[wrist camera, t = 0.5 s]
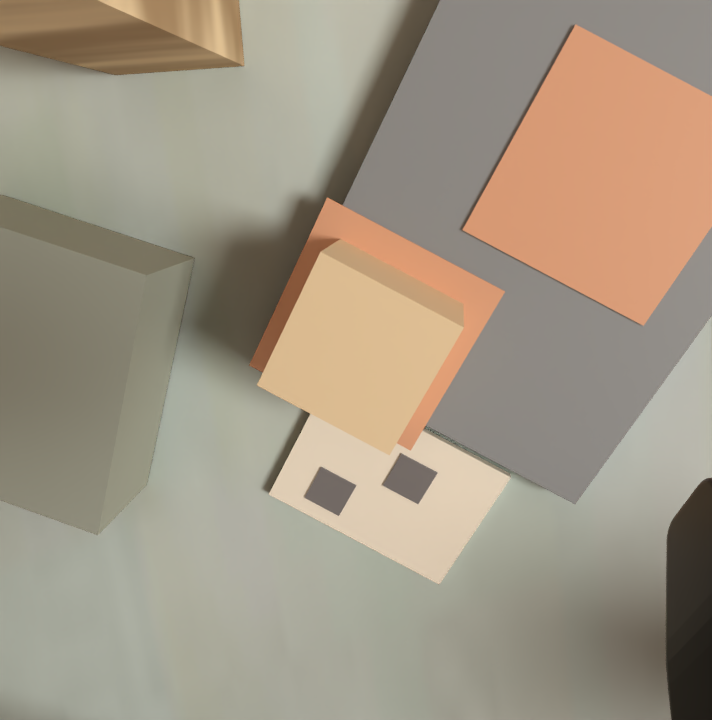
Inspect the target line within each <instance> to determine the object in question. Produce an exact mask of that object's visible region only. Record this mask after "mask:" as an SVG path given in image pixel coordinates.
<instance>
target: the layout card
mask: <svg viewBox="0 0 712 720" xmlns="http://www.w3.org/2000/svg"><path fill="white" fill-rule="evenodd" d="M510 478H511V475H510V473H508V472H507V471H505V470H503V469H501V468H499V467H497V466H495V465H493V464H491V463H490V462H488V461H486V460H484V459H482V458H480V457H478V456H476V455H474V454H473V453H471V452H469V451H467V450H465V449H463V448H461V447H459V446H457V445H456V444H454V443H452V442H450V441H448V440H446V439H444V438H442V437H440V436H439V435H437V434H435V433H433V432H431V431H429V430H427V429H425V428H424V429H423V431H422V432H421V434H420V436H419V437H418V439H417V441H416V443H415V444H414V446H413V448H412V449H411V451H410V450H408V449H406V448H405V447H403V446H401V445H399V444H397V443H396V445H395V447H394V449H393V450H392V452H391V454H390V455H388V454H386V453H384V452H382V451H380V450H378V449H376V448H374V447H373V446H371V445H369V444H367V443H365V442H363V441H361V440H359V439H357V438H356V437H354V436H352V435H350V434H348V433H346V432H344V431H342V430H340V429H339V428H337V427H335V426H333V425H331V424H329V423H327V422H325V421H323V420H321V419H320V418H318V417H316V416H314V415H312V414H310V416H309V417H308V419H307V421H306V423H305V425H304V427H303V429H302V431H301V433H300V435H299V437H298V439H297V441H296V443H295V445H294V446H293V448H292V450H291V452H290V454H289V456H288V458H287V460H286V462H285V464H284V466H283V468H282V470H281V472H280V473H279V475H278V477H277V479H276V481H275V483H274V485H273V487H272V489H271V491H270V493H269V495H271V496H273V497H275V498H277V499H279V500H280V501H282V502H284V503H286V504H288V505H290V506H292V507H294V508H296V509H297V510H299V511H301V512H303V513H305V514H307V515H309V516H311V517H313V518H314V519H316V520H318V521H320V522H322V523H324V524H326V525H328V526H330V527H331V528H333V529H335V530H337V531H339V532H341V533H343V534H345V535H347V536H349V537H350V538H352V539H354V540H356V541H358V542H360V543H362V544H364V545H366V546H367V547H369V548H371V549H373V550H375V551H377V552H379V553H381V554H383V555H384V556H386V557H388V558H390V559H392V560H394V561H396V562H398V563H400V564H401V565H403V566H405V567H407V568H409V569H411V570H413V571H415V572H417V573H418V574H420V575H422V576H424V577H426V578H428V579H430V580H432V581H434V582H436V583H437V584H440V583H441V581H442V580H443V578H444V577H445V575H446V574H447V572H448V571H449V569H450V568H451V566H452V565H453V563H454V562H455V560H456V559H457V557H458V556H459V554H460V553H461V551H462V550H463V548H464V547H465V545H466V544H467V542H468V541H469V539H470V538H471V536H472V535H473V533H474V532H475V530H476V529H477V527H478V526H479V524H480V523H481V522H482V520H483V519H484V517H485V516H486V514H487V513H488V511H489V510H490V508H491V507H492V505H493V504H494V502H495V501H496V499H497V498H498V496H499V495H500V493H501V492H502V490H503V489H504V487H505V486H506V484H507V483H508V481H509V480H510Z"/></svg>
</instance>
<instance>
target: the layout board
mask: <svg viewBox="0 0 712 720" xmlns="http://www.w3.org/2000/svg"><path fill="white" fill-rule="evenodd" d="M711 316H712V0H440V2H439V4H438V6H437V8H436V10H435V12H434V14H433V16H432V18H431V21H430V23H429V25H428V27H427V29H426V31H425V33H424V35H423V37H422V39H421V42H420V44H419V46H418V48H417V50H416V52H415V54H414V56H413V58H412V60H411V63H410V65H409V67H408V69H407V71H406V73H405V75H404V77H403V79H402V81H401V84H400V86H399V88H398V90H397V92H396V94H395V96H394V98H393V100H392V102H391V105H390V107H389V109H388V111H387V113H386V115H385V117H384V119H383V121H382V123H381V126H380V128H379V130H378V132H377V134H376V136H375V138H374V140H373V142H372V144H371V147H370V149H369V151H368V153H367V155H366V157H365V159H364V161H363V163H362V165H361V168H360V170H359V172H358V174H357V176H356V178H355V180H354V182H353V184H352V186H351V189H350V191H349V193H348V195H347V197H346V199H345V201H344V203H343V205H341V204H339V203H337V202H335V201H334V200H332V199H330V198H327V199H326V201H325V203H324V205H323V208H322V210H321V212H320V214H319V216H318V218H317V221H316V223H315V225H314V227H313V229H312V231H311V233H310V236H309V238H308V240H307V242H306V244H305V246H304V248H303V251H302V253H301V255H300V257H299V259H298V261H297V263H296V266H295V268H294V270H293V272H292V274H291V276H290V278H289V281H288V283H287V285H286V287H285V289H284V291H283V294H282V296H281V298H280V300H279V302H278V304H277V306H276V309H275V311H274V313H273V315H272V317H271V319H270V321H269V324H268V326H267V328H266V330H265V332H264V334H263V336H262V339H261V341H260V343H259V345H258V347H257V349H256V352H255V354H254V356H253V358H252V360H251V362H250V364H249V366H251V367H253V368H255V369H257V370H259V371H261V372H263V373H262V376H261V378H260V380H259V382H258V384H257V386H259V387H261V388H263V389H265V390H267V391H269V392H270V393H272V394H274V395H276V396H278V397H280V398H282V399H284V400H286V401H287V402H289V403H291V404H293V405H295V406H297V407H299V408H301V409H303V410H304V411H306V412H308V413H310V414H312V415H314V416H316V417H318V418H320V419H321V420H323V421H325V422H327V423H329V424H331V425H333V426H335V427H337V428H339V429H340V430H342V431H344V432H346V433H348V434H350V435H352V436H354V437H356V438H357V439H359V440H361V441H363V442H365V443H367V444H369V445H371V446H373V447H374V448H376V449H378V450H380V451H382V452H384V453H386V454H388V455H390V454H391V452H392V450H393V449H394V447H395V445H396V443H397V444H399V445H401V446H403V447H405V448H406V449H408V450H410V451H411V449H412V448H413V446H414V444H415V443H416V441H417V439H418V437H419V436H420V434H421V432H422V431H423V429H424V427H425V426H428V427H430V428H432V429H434V430H435V431H437V432H439V433H441V434H443V435H445V436H447V437H449V438H451V439H453V440H454V441H456V442H458V443H460V444H462V445H464V446H466V447H468V448H470V449H471V450H473V451H475V452H477V453H479V454H481V455H483V456H485V457H487V458H488V459H490V460H492V461H494V462H496V463H498V464H500V465H502V466H504V467H505V468H507V469H509V470H511V471H513V472H515V473H517V474H519V475H521V476H522V477H524V478H526V479H528V480H530V481H532V482H534V483H536V484H538V485H540V486H541V487H543V488H545V489H547V490H549V491H551V492H553V493H555V494H557V495H558V496H560V497H562V498H564V499H566V500H568V501H570V502H572V503H574V504H576V502H577V501H578V499H579V498H580V497H581V495H582V494H583V493H584V491H585V490H586V488H587V487H588V486H589V484H590V483H591V482H592V480H593V479H594V477H595V476H596V475H597V473H598V472H599V470H600V469H601V468H602V466H603V465H604V464H605V462H606V461H607V459H608V458H609V457H610V455H611V454H612V453H613V451H614V450H615V448H616V447H617V446H618V444H619V443H620V442H621V440H622V439H623V437H624V436H625V435H626V433H627V432H628V430H629V429H630V428H631V426H632V425H633V424H634V422H635V421H636V419H637V418H638V417H639V415H640V414H641V413H642V411H643V410H644V408H645V407H646V406H647V404H648V403H649V401H650V400H651V399H652V397H653V396H654V395H655V393H656V392H657V390H658V389H659V388H660V386H661V385H662V384H663V382H664V381H665V379H666V378H667V377H668V375H669V374H670V372H671V371H672V370H673V368H674V367H675V366H676V364H677V363H678V361H679V360H680V359H681V357H682V356H683V355H684V353H685V352H686V350H687V349H688V348H689V346H690V345H691V343H692V342H693V341H694V339H695V338H696V337H697V335H698V334H699V332H700V331H701V330H702V328H703V327H704V326H705V324H706V323H707V321H708V320H709V319H710V317H711Z"/></svg>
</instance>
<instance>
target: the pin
mask: <svg viewBox="0 0 712 720" xmlns="http://www.w3.org/2000/svg"><path fill="white" fill-rule="evenodd" d="M0 46H3V47H7V48H11V49H15V50H19V51H23V52H27V53H31V54H35V55H39V56H43V57H47V58H51V59H55V60H58V61H62V62H66V63H70V64H74V65H78V66H82V67H86V68H90V69H94V70H98V71H102V72H106V73H110V74H114V75H124V74H138V73H152V72H166V71H180V70H194V69H208V68H222V67H236V66H244V56H243V44H242V32H241V20H240V8H239V0H0Z"/></svg>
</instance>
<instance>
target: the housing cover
mask: <svg viewBox="0 0 712 720" xmlns="http://www.w3.org/2000/svg"><path fill="white" fill-rule="evenodd" d="M194 259H195V258H193V257H190V256H187V255H184V254H181V253H178V252H175V251H172V250H169V249H166V248H163V247H160V246H156V245H153V244H150V243H147V242H144V241H141V240H138V239H135V238H132V237H129V236H126V235H123V234H120V233H117V232H114V231H111V230H108V229H105V228H102V227H99V226H96V225H92V224H89V223H86V222H83V221H80V220H77V219H74V218H71V217H68V216H65V215H62V214H59V213H56V212H53V211H50V210H47V209H44V208H41V207H38V206H35V205H32V204H29V203H25V202H22V201H19V200H16V199H13V198H10V197H7V196H4V195H0V500H1V501H4V502H7V503H9V504H12V505H15V506H18V507H21V508H23V509H26V510H29V511H32V512H35V513H37V514H40V515H43V516H46V517H49V518H51V519H54V520H57V521H60V522H62V523H65V524H68V525H71V526H74V527H76V528H79V529H82V530H85V531H88V532H90V533H93V534H96V535H99V534H100V532H101V531H102V530H103V529H104V528H105V527H106V526H107V525H108V524H109V523H110V522H111V521H112V520H113V519H114V518H115V517H116V516H117V515H118V514H119V513H120V512H121V511H122V510H123V509H124V508H125V507H126V506H127V505H128V504H129V503H130V502H131V501H132V500H133V499H134V498H135V497H136V495H137V494H138V493H139V492H140V491H141V490H142V489H143V488H144V487H145V486H146V485H147V482H148V477H149V472H150V468H151V463H152V458H153V453H154V449H155V444H156V439H157V434H158V430H159V425H160V420H161V415H162V411H163V406H164V401H165V396H166V392H167V387H168V382H169V377H170V373H171V368H172V363H173V359H174V354H175V349H176V344H177V340H178V335H179V330H180V325H181V321H182V316H183V311H184V306H185V302H186V297H187V292H188V287H189V283H190V278H191V273H192V268H193V264H194Z"/></svg>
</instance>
